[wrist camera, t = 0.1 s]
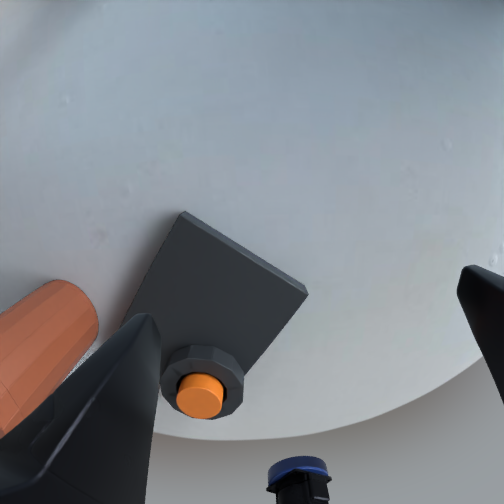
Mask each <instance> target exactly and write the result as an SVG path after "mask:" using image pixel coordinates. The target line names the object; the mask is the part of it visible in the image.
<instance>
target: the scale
mask: <svg viewBox="0 0 504 504" xmlns="http://www.w3.org/2000/svg"><path fill="white" fill-rule="evenodd" d="M308 295H309V294H308V292H307V290H306V287H305V285H303V284H301V283H300V282H298V281H297V280H295V279H293V278H292V277H290V276H289V275H287V274H285V273H284V272H282V271H281V270H279V269H277V268H276V267H274V266H273V265H271V264H269V263H268V262H266V261H265V260H263V259H261V258H260V257H258V256H257V255H255V254H253V253H252V252H250V251H249V250H247V249H245V248H244V247H242V246H241V245H239V244H237V243H236V242H234V241H233V240H231V239H229V238H228V237H226V236H225V235H223V234H221V233H220V232H218V231H217V230H215V229H213V228H212V227H210V226H209V225H207V224H205V223H204V222H202V221H201V220H199V219H197V218H196V217H194V216H193V215H191V214H189V213H188V212H186V211H185V212H183V213H182V214H180V215H179V217H178V218H177V220H176V222H175V224H174V225H173V227H172V229H171V231H170V232H169V234H168V236H167V238H166V239H165V241H164V243H163V245H162V247H161V248H160V250H159V252H158V254H157V256H156V258H155V259H154V261H153V263H152V265H151V267H150V269H149V271H148V272H147V274H146V276H145V278H144V280H143V282H142V284H141V286H140V288H139V290H138V292H137V294H136V296H135V298H134V300H133V302H132V304H131V306H130V308H129V310H128V312H127V314H126V316H125V318H124V320H123V322H122V324H121V326H120V328H121V327H122V326H123V325H125V324H126V323H127V322H128V321H129V320H130V319H131V318H132V317H133V316H134V315H136V314H141V313H150V314H151V315H152V316H153V318H154V321H155V323H156V326H157V328H158V330H159V333H160V335H161V340H162V345H161V361H160V382H159V384H160V385H161V391H162V395H163V397H164V398H165V399H166V400H167V401H168V402H169V404H170V405H171V406H172V407H173V408H174V409H175V410H177V411H179V412H181V413H183V414H185V413H184V412H182V411H181V410H180V408H179V407H178V405H177V402H176V397H177V394H178V391H179V387H180V384H181V381H182V379H183V378H184V377H186V376H187V375H189V374H192V373H206V374H209V375H211V376H213V377H215V378H216V379H217V380H219V382H220V383H221V384H222V387H223V399H222V408H221V410H220V412H219V413H218V414H217V415H216V416H214V417H211V418H207V419H209V420H213V419H217V418H221V417H224V416H227V415H230V414H232V413H233V412H234V411H235V410H236V409H237V408H238V407H239V406H240V405H241V403H242V402H243V388H244V376H245V374H246V373H247V372H248V371H249V370H250V368H251V367H252V366H253V365H254V364H255V362H256V361H257V360H258V359H259V358H260V356H261V355H262V354H263V353H264V351H265V350H266V349H267V348H268V347H269V345H270V344H271V343H272V342H273V340H274V339H275V338H276V337H277V335H278V334H279V333H280V331H281V330H282V329H283V328H284V326H285V325H286V324H287V323H288V321H289V320H290V319H291V317H292V316H293V315H294V314H295V312H296V311H297V310H298V308H299V307H300V306H301V304H302V303H303V302H304V300H305V299H306V298H307V296H308ZM120 328H119V329H120ZM185 415H187V414H185ZM187 416H189V415H187ZM189 417H191V416H189ZM192 418H194V417H192Z"/></svg>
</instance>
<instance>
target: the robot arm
mask: <svg viewBox="0 0 504 504" xmlns="http://www.w3.org/2000/svg"><path fill="white" fill-rule="evenodd" d="M457 297H458V299H459V301H460V304H461V306H462V308H463V311H464V313H465V315H466V318H467V320H468V323H469V325H470V328H471V330H472V333H473V335H474V337H475V340H476V342H477V344H478V346H479V348H480V350H481V352H482V354H483V356H484V359H485V361H486V363H487V365H488V367H489V369H490V372H491V374H492V377H493V379H494V381H495V384H496V386H497V388H498V391H499V393H500V396H501V399H502V401H503V404H504V277H503V276H500V275H498V274H496V273H493V272H491V271H489V270H486V269H484V268H482V267H479V266H477V265H469V266H465V267H464V268H463V269H462V271H461V275H460V279H459V283H458V286H457ZM161 345H162V340H161V335H160V333H159V330H158V328H157V326H156V323H155V321H154V318H153V316H152V315H151V314H150V313H141V314H136V315H134V316H133V317H132V318H131V319H130V320H129V321H128V322H127V323H126V324H125V325H123V326H122V327H121V328H120V329H119V330H118V331H117V332H116V333H115V334H114V335H113V336H112V337H110V338H109V339H108V340H107V341H106V342H105V343H104V344H103V345H102V346H101V347H100V348H99V349H98V350H96V351H95V352H94V353H93V354H92V355H91V356H90V357H89V358H88V359H87V360H86V361H85V362H84V363H83V364H82V365H81V366H79V367H78V368H77V369H76V370H75V371H74V372H73V373H72V374H71V375H70V376H69V377H68V378H67V379H66V380H65V381H64V382H63V383H62V384H61V385H60V386H59V387H58V388H56V389H55V390H54V392H53V394H50V395H49V396H48V397H47V398H46V399H45V400H44V401H43V402H42V403H41V404H40V405H39V406H38V407H37V408H36V409H35V410H34V411H33V412H31V413H30V414H29V415H28V416H27V417H26V418H25V419H23V420H22V421H21V422H20V423H19V424H18V425H17V426H15V427H14V428H13V429H12V430H11V431H9V432H8V433H7V434H6V435H5V436H3V437H2V438H1V439H0V504H145V495H146V485H147V475H148V466H149V458H150V450H151V442H152V434H153V427H154V420H155V414H156V407H157V401H158V393H159V382H160V361H161ZM330 481H332V477H331V476H326V475H322V474H317V473H313V472H309V471H305V470H302V469H297V468H295V469H293V470H291V471H290V472H288V473H287V474H286V475H284V476H283V477H281V478H280V479H278V480H277V481H276V482H274V483H273V484H271V485H270V486H268V487H267V488H266V491H267V492H271V493H274V494H276V504H329V503H328V501H329V500H330V499H329V493H328V488H327V483H329V482H330Z"/></svg>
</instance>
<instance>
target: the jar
mask: <svg viewBox="0 0 504 504" xmlns="http://www.w3.org/2000/svg"><path fill="white" fill-rule="evenodd" d="M98 326H99V324H98V318H97V314H96V311H95V309H94V307H93V305H92V303H91V301H90V300H89V298H88V297H87V296H86V295H85V293H84V292H83V291H82V290H80V289H79V288H78V287H77V286H75V285H74V284H72V283H70V282H67V281H63V280H53V281H50V282H49V283H47V284H44V285H43V286H41V287H40V288H38V289H37V290H35V291H34V292H32V293H31V294H29V295H28V296H26V297H25V298H23V299H22V300H20V301H19V302H17V303H16V304H14V305H13V306H12V307H10V308H9V309H7V310H6V311H4V312H3V313H2V314H0V439H1V438H2V437H3V436H5V435H6V434H7V433H8V432H9V431H11V430H12V429H13V428H14V427H15V426H17V425H18V424H19V423H20V422H21V421H22V420H23V419H25V418H26V417H27V416H28V415H29V414H30V413H31V412H33V411H34V410H35V409H36V408H37V407H38V406H39V405H40V404H41V403H42V402H43V401H44V400H45V399H46V398H47V397H48V396H49V395H50V394H53V392H54V390H55V389H56V388H58V387H59V386H60V384H61V383H62V382H63V380H64V379H65V378H66V377H67V375H68V374H69V373H70V371H71V370H72V369H73V368H74V366H75V365H76V364H77V363H78V361H79V360H80V359H81V358H82V356H83V355H84V354H85V353H86V351H87V350H88V349H89V348H90V346H91V345H92V344H93V342H94V340H95V339H96V337H97V334H98Z"/></svg>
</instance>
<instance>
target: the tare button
mask: <svg viewBox="0 0 504 504" xmlns="http://www.w3.org/2000/svg"><path fill="white" fill-rule="evenodd" d="M222 399H223V387H222V384H221V383H220V382H219V380H217V379H216V378H215V377H213V376H211V375H209V374H206V373H192V374H189V375H187V376H186V377H184V378H183V379H182V381H181V384H180V387H179V391H178V394H177V397H176V402H177V405H178V407H179V408H180V410H181V411H182V412H184V413H185V414H187V415H189V416H191V417H194V418H198V419H207V418H211V417H214V416H216V415H217V414H218V413H219V412H220V410H221V408H222Z"/></svg>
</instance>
